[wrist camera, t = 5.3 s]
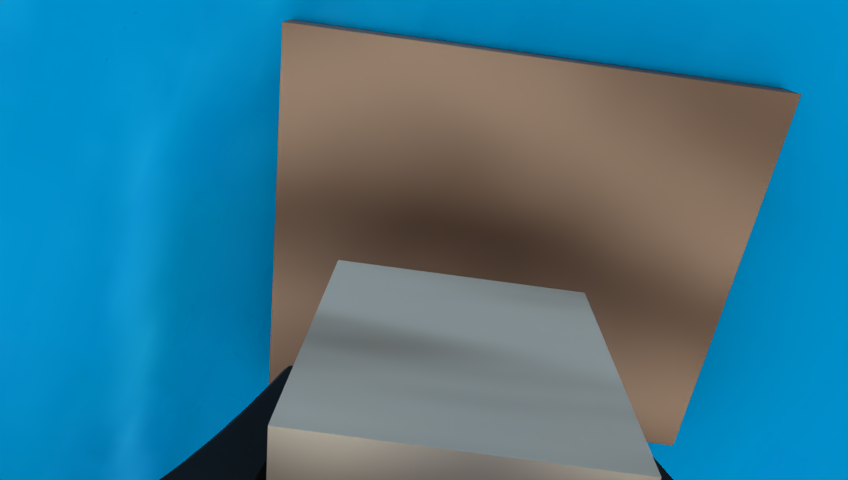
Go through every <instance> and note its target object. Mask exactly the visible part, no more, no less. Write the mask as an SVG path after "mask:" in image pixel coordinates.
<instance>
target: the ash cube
mask: <svg viewBox="0 0 848 480" xmlns="http://www.w3.org/2000/svg"><path fill="white" fill-rule="evenodd" d="M661 478H662V477H661V475H660V473H659V470H658V468H657V465H656V463H655V461H654V458H653V456H652V453H651V451H650V449H649V446H648V444H647V441H646V439H645V437H644V434H643V432H642V429H641V427H640V425H639V422H638V420H637V417H636V415H635V412H634V410H633V408H632V405H631V403H630V400H629V398H628V396H627V393H626V391H625V388H624V386H623V384H622V381H621V379H620V376H619V374H618V372H617V369H616V367H615V364H614V362H613V360H612V357H611V355H610V352H609V350H608V348H607V345H606V343H605V340H604V338H603V336H602V333H601V331H600V328H599V326H598V324H597V321H596V319H595V316H594V314H593V312H592V309H591V307H590V304H589V302H588V300H587V297H586V295H585V293H582V292H575V291H567V290H560V289H552V288H545V287H537V286H530V285H522V284H515V283H507V282H500V281H492V280H485V279H477V278H470V277H462V276H455V275H447V274H440V273H432V272H425V271H417V270H410V269H402V268H395V267H387V266H380V265H372V264H365V263H357V262H350V261H342V260H338V262H337V264H336V266H335V269H334V271H333V273H332V276H331V278H330V281H329V283H328V285H327V288H326V290H325V292H324V295H323V297H322V299H321V302H320V304H319V306H318V309H317V311H316V313H315V316H314V318H313V321H312V323H311V325H310V328H309V330H308V332H307V335H306V337H305V339H304V342H303V344H302V346H301V349H300V351H299V353H298V356H297V358H296V361H295V363H294V365H293V368H292V370H291V372H290V375H289V377H288V379H287V382H286V384H285V386H284V389H283V391H282V394H281V396H280V398H279V401H278V403H277V405H276V408H275V410H274V412H273V415H272V417H271V419H270V422H269V424H268V438H267V470H266V480H661Z"/></svg>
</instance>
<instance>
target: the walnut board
mask: <svg viewBox="0 0 848 480" xmlns="http://www.w3.org/2000/svg"><path fill="white" fill-rule="evenodd" d="M800 97H801V94H798V93H795V92H792V91H789V90H786V89H782V88H775V87H768V86H761V85H754V84H746V83H739V82H732V81H725V80H718V79H711V78H704V77H697V76H689V75H682V74H675V73H668V72H661V71H654V70H647V69H639V68H632V67H625V66H618V65H611V64H604V63H597V62H590V61H582V60H575V59H568V58H561V57H554V56H547V55H540V54H532V53H525V52H518V51H511V50H504V49H497V48H490V47H482V46H475V45H468V44H461V43H454V42H447V41H440V40H433V39H425V38H418V37H411V36H404V35H397V34H390V33H383V32H375V31H368V30H361V29H354V28H347V27H340V26H333V25H326V24H318V23H311V22H304V21H297V20H288V21H284V22H282V48H281V75H280V101H279V128H278V155H277V182H276V209H275V236H274V263H273V290H272V317H271V344H270V371H269V385H270V384H271V383H272V382H273V380H274V379H275V378H276V377H277V376H278V375H279V374H280V373H281V372H282V371H283V370H284V369H285V368H287V367H288V366H293V365H294V363H295V361H296V358H297V356H298V353H299V351H300V349H301V346H302V344H303V342H304V339H305V337H306V335H307V332H308V330H309V328H310V325H311V323H312V321H313V318H314V316H315V313H316V311H317V309H318V306H319V304H320V302H321V299H322V297H323V295H324V292H325V290H326V288H327V285H328V283H329V281H330V278H331V276H332V273H333V271H334V269H335V266H336V264H337V262H338V260H342V261H350V262H357V263H365V264H372V265H380V266H387V267H395V268H402V269H410V270H417V271H425V272H432V273H440V274H447V275H455V276H462V277H470V278H477V279H485V280H492V281H500V282H507V283H515V284H522V285H530V286H537V287H545V288H552V289H560V290H567V291H575V292H582V293H585V295H586V297H587V300H588V302H589V304H590V307H591V309H592V312H593V314H594V316H595V319H596V321H597V324H598V326H599V328H600V331H601V333H602V336H603V338H604V340H605V343H606V345H607V348H608V350H609V352H610V355H611V357H612V360H613V362H614V364H615V367H616V369H617V372H618V374H619V376H620V379H621V381H622V384H623V386H624V388H625V391H626V393H627V396H628V398H629V400H630V403H631V405H632V408H633V410H634V412H635V415H636V417H637V420H638V422H639V425H640V427H641V429H642V432H643V434H644V437H645V439H646V441H647V442H651V443H658V444H666V445H673V444H674V442H675V439H676V436H677V433H678V431H679V428H680V425H681V423H682V420H683V417H684V414H685V412H686V409H687V406H688V403H689V401H690V398H691V395H692V392H693V390H694V387H695V384H696V381H697V379H698V376H699V373H700V371H701V368H702V365H703V362H704V360H705V357H706V354H707V351H708V349H709V346H710V343H711V340H712V338H713V335H714V332H715V329H716V327H717V324H718V321H719V318H720V316H721V313H722V310H723V308H724V305H725V302H726V299H727V297H728V294H729V291H730V288H731V286H732V283H733V280H734V277H735V275H736V272H737V269H738V266H739V264H740V261H741V258H742V256H743V253H744V250H745V247H746V245H747V242H748V239H749V236H750V234H751V231H752V228H753V225H754V223H755V220H756V217H757V214H758V212H759V209H760V206H761V203H762V201H763V198H764V195H765V193H766V190H767V187H768V184H769V182H770V179H771V176H772V173H773V171H774V168H775V165H776V162H777V160H778V157H779V154H780V151H781V149H782V146H783V143H784V141H785V138H786V135H787V132H788V130H789V127H790V124H791V121H792V119H793V116H794V113H795V110H796V108H797V105H798V102H799V99H800Z"/></svg>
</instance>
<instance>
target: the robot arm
mask: <svg viewBox="0 0 848 480" xmlns="http://www.w3.org/2000/svg"><path fill="white" fill-rule="evenodd" d="M292 368H293V366H288V367H287V368H285V369H284V370H283V371H282V372H281V373H280V374H279V375H278V376H277V377H276V378H275V379H274V380H273V382H272V383H271V384H270V385H269V386H268V387H267V388H266V389H265V390H264V391H263V392H262V393H261V394H260V395H259V396H258V397H257V398H256V399H255V400H254V401H253V402H252V403H251V404H250V405H249V406H248V407H247V408H245V409H244V410H243V411H242V412H241V413H240V414H239V415H238V416H237V417H236V418H235V419H234V420H232V421H231V422H230V423H229V424H228V425H227V426H226V427H225V428H224V429H223V430H221V431H220V432H219V433H218V434H217V435H216V436H215V437H213V438H212V439H211V440H210V441H208V442H207V443H206V444H205V445H204V446H202V447H201V448H200V449H199V450H198V451H196V452H195V453H194V454H193V455H191V456H190V457H189V458H188V459H187V460H185V461H184V462H183V463H181V464H180V465H179V466H177V467H176V468H175V469H173V470H172V471H171V472H169V473H168V474H167V475H165V476H164V477H163V478H161V479H160V480H266V470H267V438H268V424H269V422H270V419H271V417H272V415H273V412H274V410H275V408H276V405H277V403H278V401H279V398H280V396H281V394H282V391H283V389H284V386H285V384H286V382H287V379H288V377H289V375H290V372H291V370H292ZM653 458H654V457H653ZM654 461H655V463H656V465H657V468H658V470H659V473H660V475H661V477H662V478H661V480H673V479H672V478H671V477H670V476H669V474H668V473H667V472H666V471H665V470H664V469H663V468H662V466H661V465H660V464H659V463H658V462H657V461H656V460H655V458H654Z"/></svg>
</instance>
